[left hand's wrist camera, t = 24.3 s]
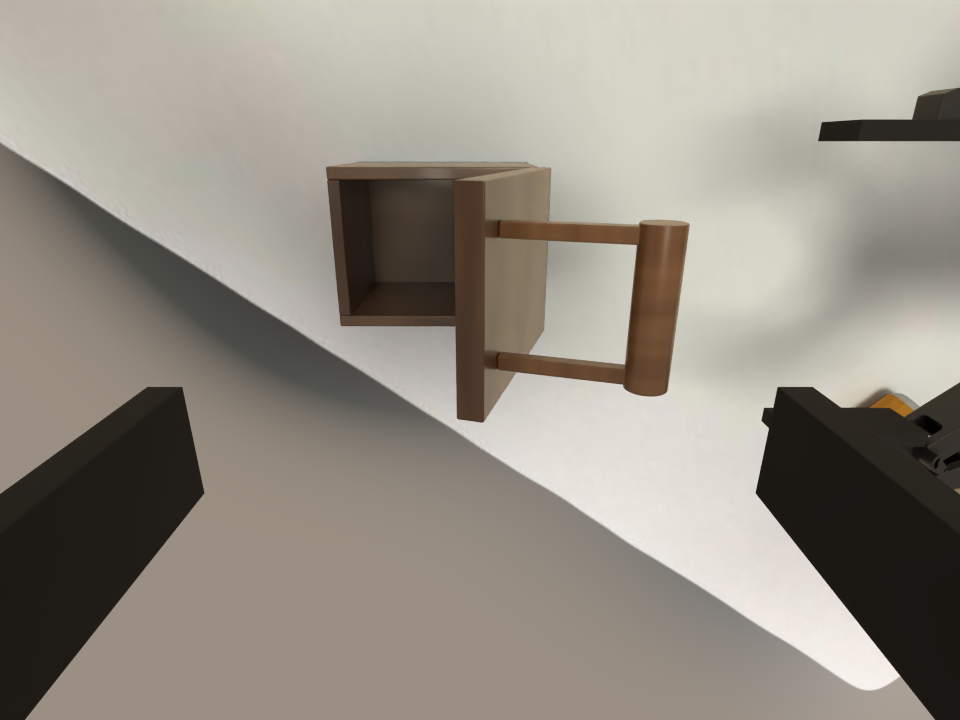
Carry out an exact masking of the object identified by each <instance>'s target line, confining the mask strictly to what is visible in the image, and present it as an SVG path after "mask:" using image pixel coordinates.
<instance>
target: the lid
mask: <svg viewBox="0 0 960 720" xmlns="http://www.w3.org/2000/svg"><path fill="white" fill-rule="evenodd" d="M453 184H454V251H455V318H456V385H457V419H461V420H468V421H475V422H484V421H485V419H486V418H487V416H488V415H489V413H490V412H491V410H492V409H493V407H494V406H495V404H496V403H497V401H498V399H499V398H500V396H501V395H502V393H503V392H504V390H505V389H506V387H507V386H508V384H509V383H510V381H511V380H512V378H513V377H514V375H515V374H516V372H520V373H529V374H537V375H546V376H555V377H563V378H572V379H581V380H589V381H598V382H606V383H615V384H623V387H624V388H625V389H626V390H627V391H629V392H631V393H633V394H636V395H641V396H660V395H663V394H665V393H666V392H667V390H668V383H669V376H670V368H671V361H672V353H673V346H674V338H675V331H676V323H677V316H678V308H679V301H680V293H681V286H682V278H683V271H684V263H685V256H686V248H687V241H688V233H689V226H690V225H689V223H686V222H682V221H673V220H645V221H641V222H640V223H639V225H631V224H606V223H580V222H555V221H549V207H550V185H551V168H536V167H531V168H525V169H519V170H513V171H507V172H501V173H495V174H489V175H483V176H477V177H471V178H465V179H459V180H455V181H454V182H453ZM548 241H567V242H587V243H608V244H628V245H637V251H636V261H635V271H634V280H633V290H632V300H631V310H630V320H629V330H628V340H627V349H626V359H625V365H622V364H613V363H603V362H594V361H585V360H575V359H566V358H557V357H547V356H538V355H529V352H530V351H531V349H532V348H533V346H534V345H535V343H536V341H537V340H538V338H539V337H540V335H541V334H542V332H543V331H544V319H545V297H546V274H547V252H548Z"/></svg>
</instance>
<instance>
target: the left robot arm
mask: <svg viewBox="0 0 960 720" xmlns="http://www.w3.org/2000/svg"><path fill="white" fill-rule="evenodd" d="M203 494H204V489H203V484H202V480H201V475H200V470H199V465H198V460H197V456H196V451H195V446H194V441H193V436H192V432H191V427H190V422H189V417H188V412H187V408H186V403H185V398H184V393H183V389H182V387H147V388H146V389H144V390H143V391H141V392H140V393H139V394H137V395H136V396H134V397H133V398H132V399H130V400H129V401H128V402H126V403H125V404H123V405H122V406H121V407H119V408H118V409H117V410H115V411H114V412H112V413H111V414H110V415H108V416H107V417H106V418H104V419H103V420H102V421H100V422H99V423H97V424H96V425H95V426H93V427H92V428H90V429H89V430H88V431H86V432H85V433H84V434H82V435H81V436H79V437H78V438H77V439H75V440H74V441H73V442H71V443H70V444H68V445H67V446H66V447H64V448H63V449H62V450H60V451H59V452H57V453H56V454H55V455H53V456H52V457H51V458H49V459H48V460H46V461H45V462H44V463H42V464H41V465H40V466H38V467H37V468H35V469H34V470H33V471H31V472H30V473H29V474H27V475H26V476H25V477H23V478H22V479H20V480H19V481H18V482H16V483H15V484H13V485H12V486H11V487H9V488H8V489H7V490H5V491H4V492H2V493H1V494H0V720H25V719H26V718H27V716H28V715H29V714H30V713H31V711H32V710H33V709H34V707H35V706H36V705H37V704H38V702H39V701H40V700H41V699H42V697H43V696H44V695H45V694H46V692H47V691H48V690H49V689H50V687H51V686H52V685H53V683H54V682H55V681H56V680H57V678H58V677H59V676H60V675H61V673H62V672H63V671H64V670H65V668H66V667H67V666H68V665H69V663H70V662H71V661H72V659H73V658H74V657H75V656H76V654H77V653H78V652H79V651H80V649H81V648H82V647H83V646H84V644H85V643H86V642H87V641H88V639H89V638H90V637H91V636H92V634H93V633H94V632H95V631H96V629H97V628H98V627H99V625H100V624H101V623H102V622H103V620H104V619H105V618H106V617H107V615H108V614H109V613H110V612H111V610H112V609H113V608H114V607H115V605H116V604H117V603H118V601H119V600H120V599H121V598H122V596H123V595H124V594H125V593H126V591H127V590H128V589H129V588H130V586H131V585H132V584H133V583H134V581H135V580H136V579H137V577H138V576H139V575H140V574H141V572H142V571H143V570H144V569H145V567H146V566H147V565H148V564H149V562H150V561H151V560H152V559H153V557H154V556H155V555H156V554H157V552H158V551H159V550H160V548H161V547H162V546H163V545H164V543H165V542H166V541H167V540H168V538H169V537H170V536H171V535H172V533H173V532H174V531H175V530H176V528H177V527H178V526H179V525H180V523H181V522H182V521H183V519H184V518H185V517H186V516H187V514H188V513H189V512H190V511H191V509H192V508H193V507H194V505H195V504H196V503H197V502H198V501H199V499H200V498H201V497H202V495H203ZM756 494H757V495H758V497H759V498H760V499H761V501H762V502H763V503H764V504H765V506H766V507H767V508H768V509H769V511H770V512H771V513H772V514H773V516H774V517H775V518H776V519H777V521H778V522H779V523H780V525H781V526H782V527H783V528H784V530H785V531H786V532H787V533H788V535H789V536H790V537H791V538H792V540H793V541H794V542H795V543H796V545H797V546H798V547H799V548H800V550H801V551H802V552H803V554H804V555H805V556H806V557H807V559H808V560H809V561H810V562H811V564H812V565H813V566H814V567H815V569H816V570H817V571H818V572H819V574H820V575H821V576H822V578H823V579H824V580H825V581H826V583H827V584H828V585H829V586H830V588H831V589H832V590H833V591H834V593H835V594H836V595H837V596H838V598H839V599H840V600H841V601H842V603H843V604H844V605H845V607H846V608H847V609H848V610H849V612H850V613H851V614H852V615H853V617H854V618H855V619H856V620H857V622H858V623H859V624H860V625H861V627H862V628H863V629H864V631H865V632H866V633H867V634H868V636H869V637H870V638H871V639H872V641H873V642H874V643H875V644H876V646H877V647H878V648H879V649H880V651H881V652H882V653H883V654H884V656H885V657H886V658H887V660H888V661H889V662H890V663H891V665H892V666H893V667H894V668H895V670H896V671H897V672H898V673H899V675H900V676H901V677H902V678H903V680H904V681H905V682H906V684H907V685H908V686H909V687H910V689H911V690H912V691H913V692H914V694H915V695H916V696H917V697H918V699H919V700H920V701H921V702H922V704H923V705H924V706H925V707H926V709H927V710H928V711H929V713H930V714H931V715H932V716H933V718H934V719H935V720H960V494H959V493H958V492H956V491H955V490H953V489H952V488H951V487H949V486H948V485H947V484H945V483H944V482H942V481H941V480H940V479H938V478H937V477H936V476H934V475H933V474H931V473H930V472H929V471H927V470H926V469H925V468H923V467H922V466H920V465H919V464H918V463H916V462H915V461H914V460H912V459H911V458H909V457H908V456H907V455H905V454H904V453H903V452H901V451H900V450H898V449H897V448H896V447H894V446H893V445H892V444H890V443H889V442H887V441H886V440H885V439H883V438H882V437H881V436H879V435H878V434H876V433H875V432H874V431H872V430H871V429H870V428H868V427H867V426H865V425H864V424H863V423H861V422H860V421H859V420H857V419H856V418H854V417H853V416H852V415H850V414H849V413H848V412H846V411H845V410H843V409H842V408H841V407H839V406H838V405H837V404H835V403H834V402H832V401H831V400H830V399H828V398H827V397H826V396H824V395H823V394H821V393H820V392H819V391H817V390H816V389H814V388H813V387H778V389H777V393H776V398H775V403H774V408H773V412H772V417H771V422H770V427H769V432H768V436H767V441H766V446H765V451H764V456H763V460H762V465H761V470H760V475H759V480H758V484H757V489H756Z"/></svg>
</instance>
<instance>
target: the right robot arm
mask: <svg viewBox="0 0 960 720" xmlns="http://www.w3.org/2000/svg"><path fill="white" fill-rule="evenodd" d="M818 141H960V88H954V89H946V90H937V91H931V92H928V93H926V94H923V95H921V96H918V99H917V103H916V107H915V111H914V115H913V119H912V120H850V121H835V122H822V125H821V130H820V135H819V139H818ZM842 409H843V410H845V411H846V412H848V413H849V414H850V415H852V416H853V417H854V418H856V419H857V420H859V421H860V422H861V423H863V424H864V425H865V426H867V427H868V428H870V429H871V430H872V431H874V432H875V433H876V434H878V435H879V436H881V437H882V438H883V439H885V440H886V441H887V442H889V443H890V444H892V445H893V446H894V447H896V448H897V449H898V450H900V451H901V452H903V453H904V454H905V455H907V456H908V457H909V458H911V459H912V460H914V461H915V462H916V463H918V464H919V465H920V466H922V467H923V468H925V469H926V470H927V471H929V472H930V473H931V474H933V475H934V476H936V477H937V478H938V479H940V480H941V481H942V482H944V483H945V484H947V485H948V486H949V487H951V488H952V489H953V490H955V489H958V488H960V383H958V384H957V385H955V386H953V387H952V388H950V389H949V390H947V391H945V392H944V393H942V394H940V395H939V396H937V397H936V398H934V399H932V400H931V401H929V402H928V403H926V404H924V405H923V406H921V407H919V408H918V409H916V410H915V411H913V412H911V413H910V414H908V415H906V416H905V417H903V416H902V415H900V414H899V413H897V412H895V411H894V410H892V409H891V408H842ZM772 412H773V408H764V411H763V416H762V422H763V423H764V424H765V425H766V426H767V427H768V428H769V427H770V422H771V417H772ZM928 435H929V436H930V437H928Z"/></svg>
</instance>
